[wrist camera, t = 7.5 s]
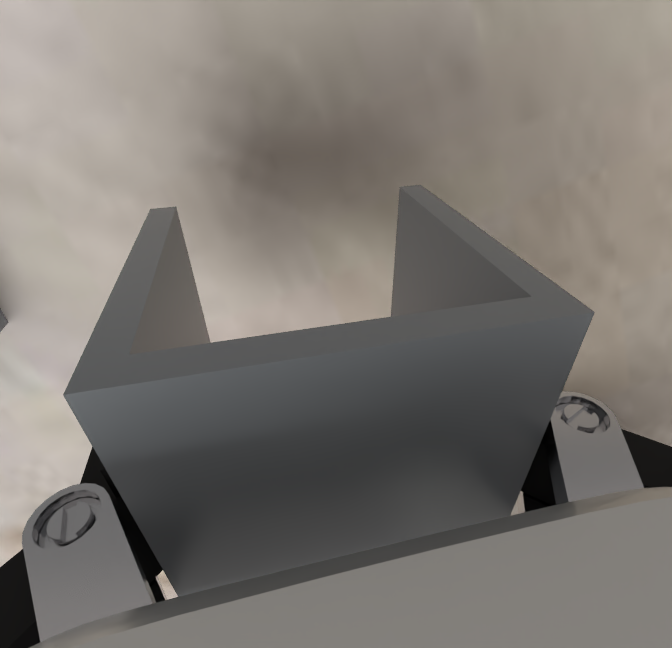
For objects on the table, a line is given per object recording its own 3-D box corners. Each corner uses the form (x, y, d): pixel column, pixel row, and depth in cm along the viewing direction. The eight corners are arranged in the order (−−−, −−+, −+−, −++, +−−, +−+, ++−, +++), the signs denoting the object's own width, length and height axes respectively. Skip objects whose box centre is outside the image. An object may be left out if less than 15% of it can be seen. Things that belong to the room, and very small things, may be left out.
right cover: (420, 185, 11) (594, 312, 6) (400, 395, 16) (487, 572, 10) (150, 208, 10) (63, 394, 5) (214, 428, 14) (206, 645, 9)
